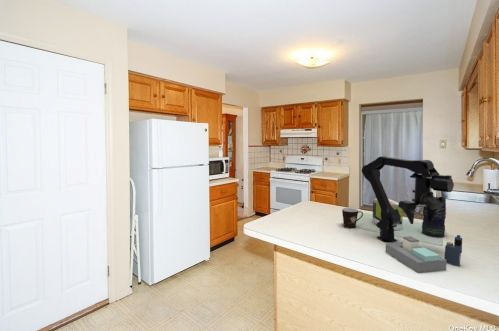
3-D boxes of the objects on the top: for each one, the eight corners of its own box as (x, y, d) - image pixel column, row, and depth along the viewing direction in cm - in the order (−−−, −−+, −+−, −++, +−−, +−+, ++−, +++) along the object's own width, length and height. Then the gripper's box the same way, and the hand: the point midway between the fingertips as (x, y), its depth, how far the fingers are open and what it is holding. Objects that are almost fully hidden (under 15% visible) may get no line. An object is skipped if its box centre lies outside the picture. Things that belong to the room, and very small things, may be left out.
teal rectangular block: (410, 253, 101) (411, 248, 101) (424, 252, 102) (424, 247, 102) (425, 261, 94) (425, 256, 94) (439, 260, 95) (439, 255, 95)
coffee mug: (342, 228, 143) (342, 211, 142) (341, 223, 151) (341, 207, 150) (364, 230, 139) (364, 212, 138) (362, 225, 148) (362, 208, 147)
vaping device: (459, 267, 98) (461, 237, 97) (443, 262, 102) (445, 233, 101) (461, 265, 99) (463, 235, 98) (445, 260, 104) (447, 231, 102)
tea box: (402, 230, 138) (403, 204, 137) (384, 230, 138) (385, 204, 137) (388, 221, 153) (389, 197, 152) (371, 221, 153) (372, 198, 152)
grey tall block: (410, 261, 103) (410, 240, 103) (402, 256, 108) (403, 236, 107) (417, 260, 104) (418, 240, 103) (409, 255, 108) (410, 236, 107)
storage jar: (449, 238, 126) (450, 209, 125) (427, 237, 128) (428, 208, 127) (438, 231, 136) (439, 204, 134) (418, 230, 138) (419, 203, 136)
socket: (385, 252, 112) (385, 243, 112) (409, 250, 114) (410, 241, 113) (417, 272, 94) (418, 262, 94) (446, 270, 96) (446, 260, 95)
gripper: (418, 193, 101) (416, 231, 103) (458, 191, 104) (456, 228, 105) (398, 188, 112) (396, 222, 114) (435, 186, 115) (433, 219, 116)
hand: (421, 223), depth 112 cm, fingers open, 9 cm apart
